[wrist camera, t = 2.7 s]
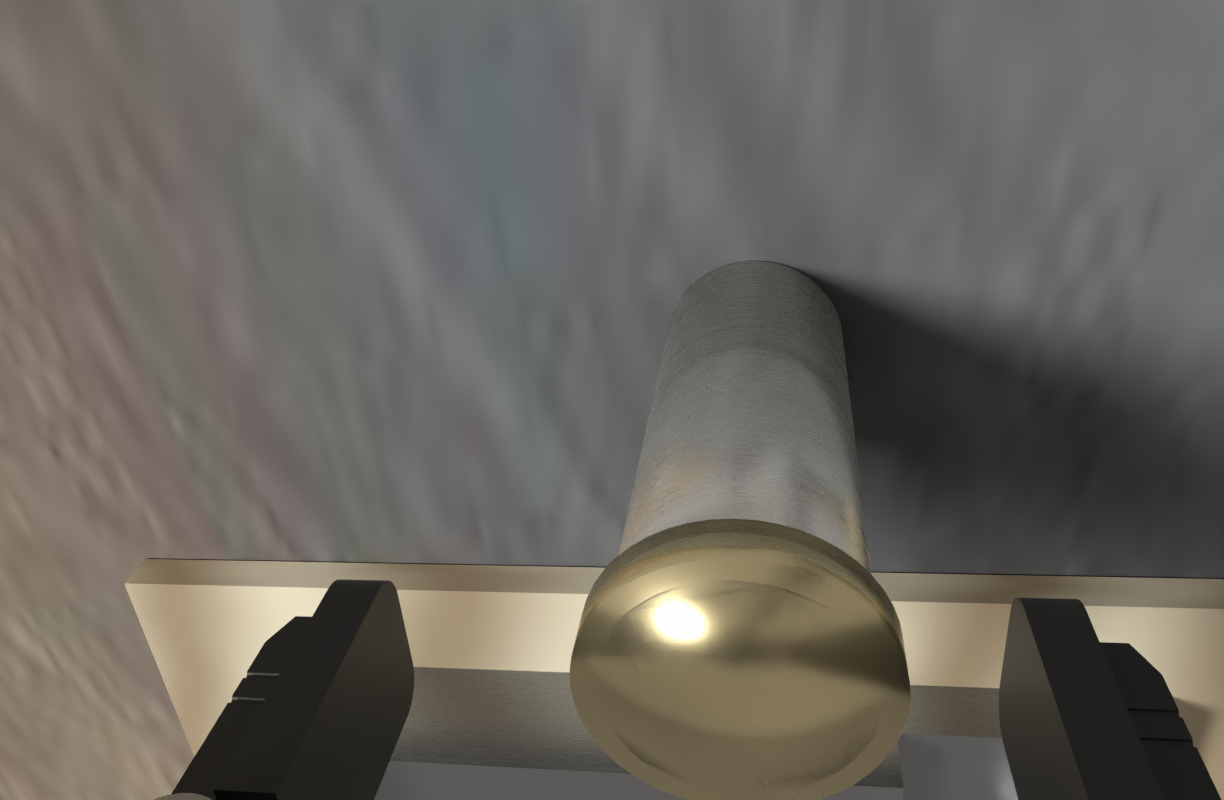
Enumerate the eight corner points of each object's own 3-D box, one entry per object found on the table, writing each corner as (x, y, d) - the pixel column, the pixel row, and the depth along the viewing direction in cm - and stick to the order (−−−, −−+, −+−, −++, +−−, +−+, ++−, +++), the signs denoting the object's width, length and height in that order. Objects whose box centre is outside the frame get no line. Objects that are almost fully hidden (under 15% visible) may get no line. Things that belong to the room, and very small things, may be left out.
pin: (860, 242, 20) (920, 563, 11) (854, 427, 22) (903, 819, 13) (646, 250, 21) (551, 555, 12) (660, 428, 23) (587, 800, 14)
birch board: (1319, 580, 22) (1341, 611, 21) (1199, 971, 29) (1212, 1007, 28) (145, 558, 27) (124, 583, 26) (276, 899, 34) (263, 927, 33)
